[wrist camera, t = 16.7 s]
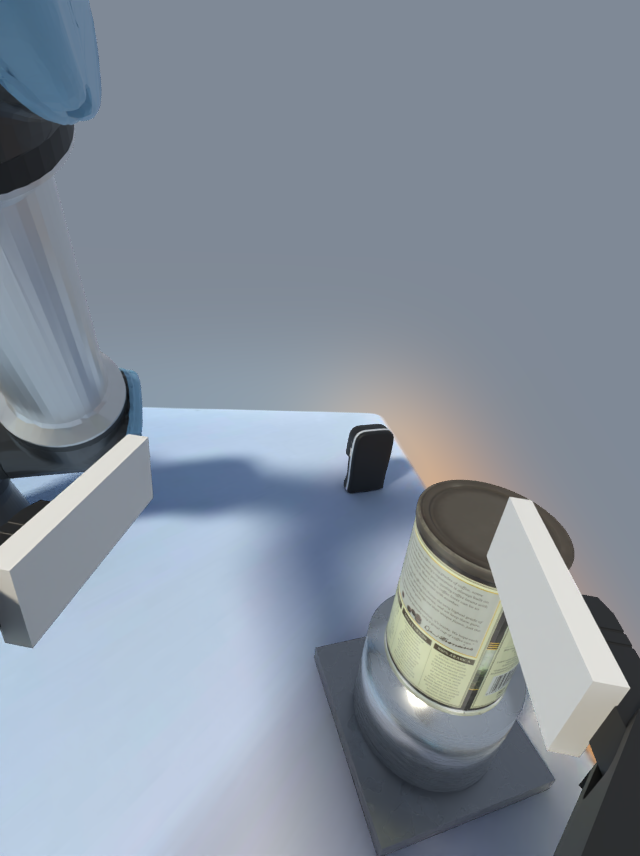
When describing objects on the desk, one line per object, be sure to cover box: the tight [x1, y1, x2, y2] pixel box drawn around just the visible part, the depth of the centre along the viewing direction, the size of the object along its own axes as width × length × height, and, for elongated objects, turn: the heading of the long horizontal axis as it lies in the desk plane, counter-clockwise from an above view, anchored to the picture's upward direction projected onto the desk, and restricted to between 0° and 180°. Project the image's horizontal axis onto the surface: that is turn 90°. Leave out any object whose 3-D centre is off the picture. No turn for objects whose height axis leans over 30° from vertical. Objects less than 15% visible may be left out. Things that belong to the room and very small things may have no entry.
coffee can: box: [384, 480, 574, 716], centre depth 33 cm, size 10×10×14 cm
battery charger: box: [344, 424, 394, 493], centre depth 70 cm, size 7×4×11 cm, turn 111°
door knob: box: [314, 595, 555, 856], centre depth 38 cm, size 16×16×10 cm
